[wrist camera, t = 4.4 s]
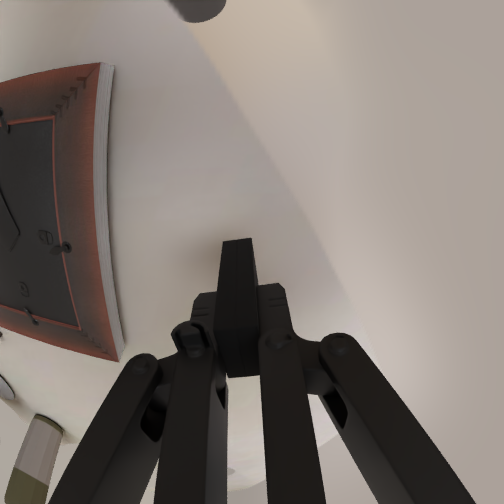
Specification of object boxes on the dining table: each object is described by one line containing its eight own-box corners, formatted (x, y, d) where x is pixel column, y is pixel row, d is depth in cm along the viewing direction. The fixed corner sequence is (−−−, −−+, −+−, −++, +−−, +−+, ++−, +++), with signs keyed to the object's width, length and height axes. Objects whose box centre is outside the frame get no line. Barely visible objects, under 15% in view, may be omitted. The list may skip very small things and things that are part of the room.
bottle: (39, 409, 32) (-1, 550, 5) (72, 431, 35) (42, 569, 8) (28, 413, 33) (-9, 538, 7) (57, 433, 36) (28, 556, 10)
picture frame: (-36, 99, 11) (-2, 308, 21) (-56, 103, 9) (-14, 322, 19) (118, 66, 13) (126, 343, 23) (99, 62, 11) (118, 364, 21)
